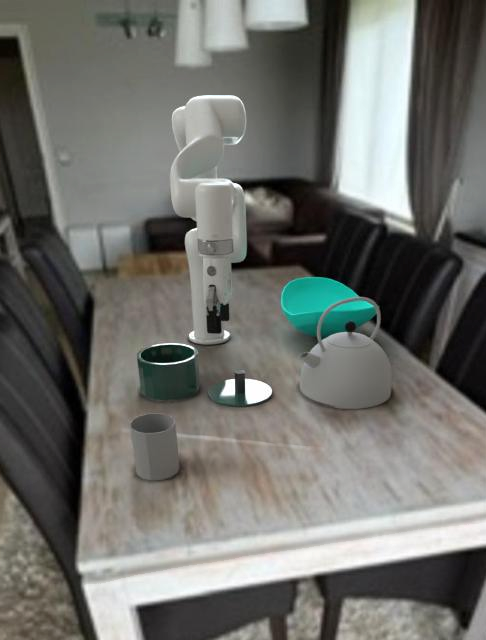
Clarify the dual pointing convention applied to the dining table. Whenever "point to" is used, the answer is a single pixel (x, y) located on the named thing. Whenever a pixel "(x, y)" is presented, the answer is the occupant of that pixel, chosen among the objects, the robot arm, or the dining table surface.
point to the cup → (155, 446)
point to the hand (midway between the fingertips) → (218, 326)
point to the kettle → (347, 367)
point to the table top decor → (322, 306)
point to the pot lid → (240, 391)
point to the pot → (168, 371)
